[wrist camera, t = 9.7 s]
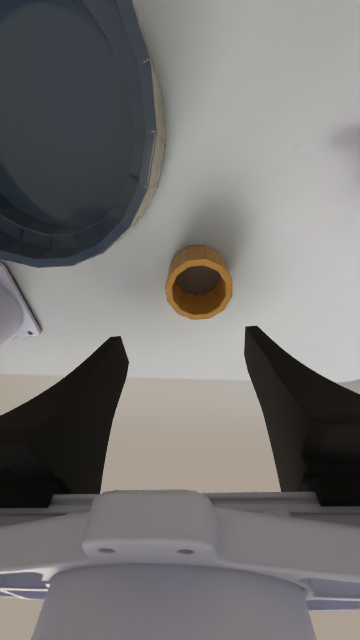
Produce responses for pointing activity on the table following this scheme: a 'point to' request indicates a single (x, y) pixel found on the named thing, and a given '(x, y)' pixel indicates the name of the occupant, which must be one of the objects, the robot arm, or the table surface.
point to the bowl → (74, 128)
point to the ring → (203, 303)
